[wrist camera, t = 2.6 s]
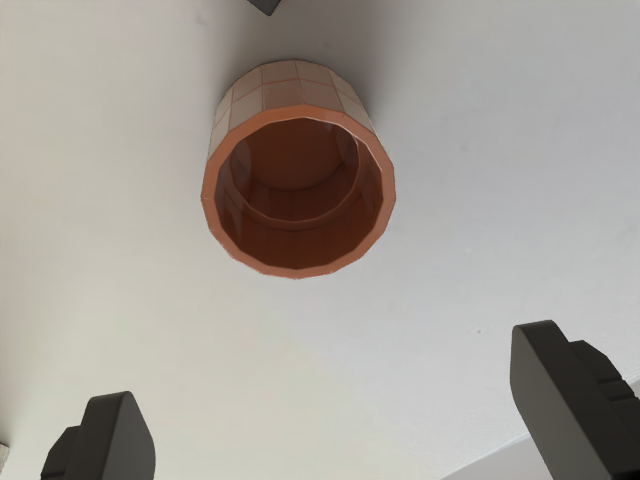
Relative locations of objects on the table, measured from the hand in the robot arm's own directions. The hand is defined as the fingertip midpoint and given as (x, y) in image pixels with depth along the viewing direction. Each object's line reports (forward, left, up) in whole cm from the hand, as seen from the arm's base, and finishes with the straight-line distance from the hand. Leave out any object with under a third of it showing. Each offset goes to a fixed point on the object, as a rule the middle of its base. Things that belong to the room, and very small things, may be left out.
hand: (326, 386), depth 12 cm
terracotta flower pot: (0, 0, -15) cm, 15 cm away
